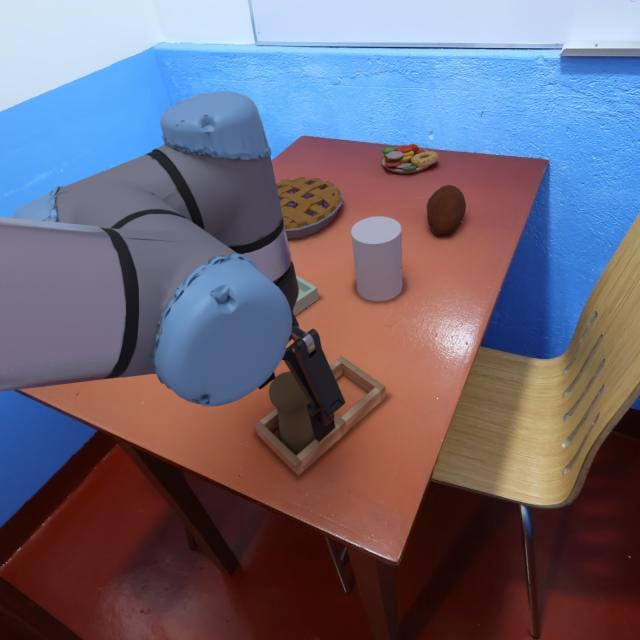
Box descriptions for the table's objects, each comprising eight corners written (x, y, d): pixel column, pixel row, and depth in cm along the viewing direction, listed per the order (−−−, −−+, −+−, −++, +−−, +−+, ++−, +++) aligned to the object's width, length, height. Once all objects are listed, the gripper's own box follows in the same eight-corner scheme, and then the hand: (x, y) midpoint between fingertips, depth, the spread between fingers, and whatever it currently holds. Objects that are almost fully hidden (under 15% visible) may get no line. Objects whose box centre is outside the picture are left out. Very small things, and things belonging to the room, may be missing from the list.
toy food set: (443, 169, 114) (444, 156, 111) (391, 181, 113) (390, 168, 110) (422, 148, 123) (422, 136, 121) (374, 159, 122) (373, 147, 120)
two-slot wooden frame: (298, 476, 60) (295, 466, 58) (257, 435, 65) (253, 425, 63) (386, 397, 67) (385, 386, 65) (343, 366, 72) (341, 355, 70)
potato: (420, 238, 94) (420, 203, 88) (431, 208, 101) (432, 174, 96) (459, 241, 91) (462, 205, 86) (467, 211, 99) (470, 175, 93)
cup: (411, 288, 83) (411, 230, 75) (373, 307, 81) (369, 250, 73) (384, 267, 89) (381, 211, 81) (348, 284, 86) (341, 228, 78)
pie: (302, 253, 96) (298, 232, 92) (229, 228, 107) (223, 209, 103) (362, 203, 107) (360, 183, 104) (290, 185, 118) (286, 166, 115)
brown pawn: (332, 426, 64) (321, 374, 57) (307, 461, 61) (292, 410, 54) (297, 409, 67) (283, 357, 60) (271, 441, 64) (252, 390, 57)
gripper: (371, 298, 40) (383, 441, 54) (220, 214, 54) (262, 346, 69) (304, 348, 36) (336, 486, 51) (163, 245, 51) (220, 376, 65)
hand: (294, 406), depth 60 cm, fingers open, 11 cm apart
